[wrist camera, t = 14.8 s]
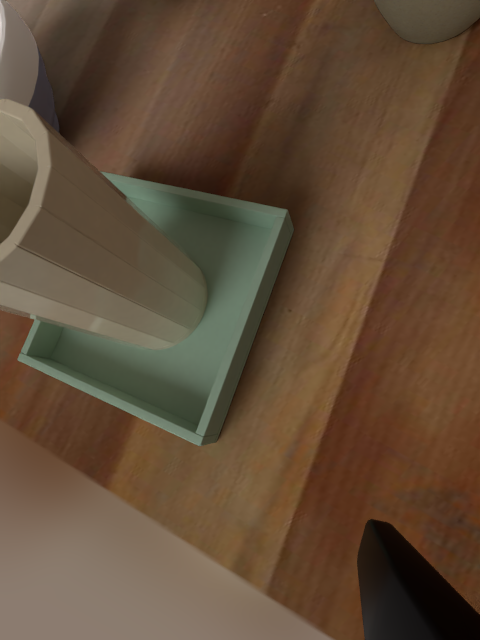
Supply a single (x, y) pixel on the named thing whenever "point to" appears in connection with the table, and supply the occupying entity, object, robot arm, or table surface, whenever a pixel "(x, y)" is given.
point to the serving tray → (209, 336)
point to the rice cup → (86, 245)
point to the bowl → (23, 67)
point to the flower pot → (429, 18)
